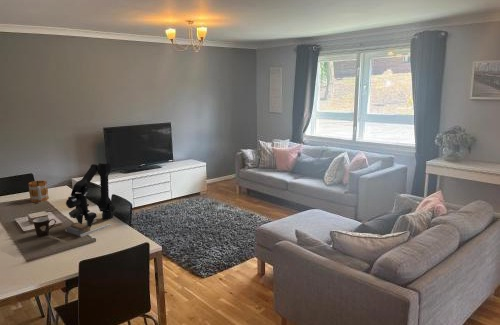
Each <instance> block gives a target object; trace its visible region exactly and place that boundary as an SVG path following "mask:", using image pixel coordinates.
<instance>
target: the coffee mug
mask: <svg viewBox="0 0 500 325" xmlns="http://www.w3.org/2000/svg"><path fill="white" fill-rule="evenodd" d="M51 221H54V223H53V225H51V226H50V222H51ZM32 223H33V225H34V226H33V227H34V230H35V233H36V236H37V238H43V237H47V236H49V233H50V232H49V231H50V230H51V229H52V228H53V227H54V226H55V224H56V223H57V221H56V219H53V218H52V219H50V218H49V217H48V216H47V217H37V218H35V219H33V220H32Z"/></svg>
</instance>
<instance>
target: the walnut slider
mask: <svg viewBox="0 0 500 325" xmlns="http://www.w3.org/2000/svg"><path fill="white" fill-rule="evenodd" d="M70 226H71V227H74V228H78V229H81V230H84V233H85V232H88V231H91V228H90V226H88V225H83V223H82V224H80V223H78V222H74V223H70Z"/></svg>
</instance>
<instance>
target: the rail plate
mask: <svg viewBox="0 0 500 325" xmlns="http://www.w3.org/2000/svg"><path fill="white" fill-rule="evenodd" d="M94 223H97V219H94V220H93V223H92V224H94ZM82 224H83V225H86V226H88V225H87V221H86V222H84V223H83V222H82ZM110 227H112V224H111V223H109V224H108V223H107V224H105V225H103V226H100V227H97V228H94V229H90V231H88V232H85V233H84V230H81V229H78V228H74V227H71V225H70V226H67V227H65V232H66V233H69V234H71V235H74V236H77V237H81V238H82V237H85V236H88V235H90V234H93V233H96V232H98V231H102V230H104V229H107V228H110Z"/></svg>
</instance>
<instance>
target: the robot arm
mask: <svg viewBox="0 0 500 325" xmlns="http://www.w3.org/2000/svg"><path fill="white" fill-rule="evenodd" d="M111 169H112V168H111V164H110V163H109V162H99V163H92V164H90V167H89V169H88V170H87V171H86V173H85V174H84V175H83V177H82V178H81V179H79V180H78V181H77V182H76V183H74V185H73V186H72V191H71V193H70V196H68V197H67V199H66V201H65V205H66V207H67V208H68V209H72V210H70V212H68V215H69V217H70V218H72V219H76V221H77V223H80V224H83V219H84V221H86V222H87V225H86V226H90V229H91V227H92V225H93V224H94V223H93V220H95V219H96V218H97V217H98V216H97V215H98V214H97V213H95V212H94V211H93V212H92V211H91V210H89V206H90V203H88V198H87V196H88V195H89V192H88V190H89V187H90V182H92V180H93V178H94V177H95V176H96V174H97V173H98V175H99V183H100V184H99V185H100V198H99V199H98V200H97V207H98V210H99V212H102V214H101V217H102V218H101V219H102V221H103V220H104V221H105V220H111V219H114V211H115V210H116V207H115V205H113V203H112V199H111V198H110V196H109V195H110V194H109V191H110V190H109V175H110V173H111ZM73 208H74V209H73Z"/></svg>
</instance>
